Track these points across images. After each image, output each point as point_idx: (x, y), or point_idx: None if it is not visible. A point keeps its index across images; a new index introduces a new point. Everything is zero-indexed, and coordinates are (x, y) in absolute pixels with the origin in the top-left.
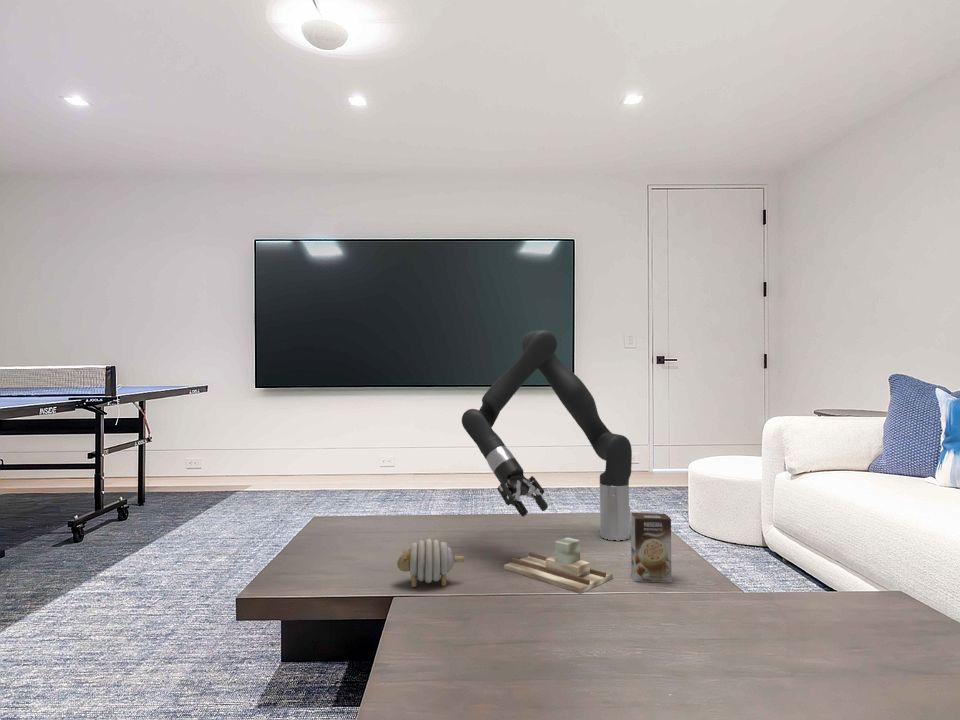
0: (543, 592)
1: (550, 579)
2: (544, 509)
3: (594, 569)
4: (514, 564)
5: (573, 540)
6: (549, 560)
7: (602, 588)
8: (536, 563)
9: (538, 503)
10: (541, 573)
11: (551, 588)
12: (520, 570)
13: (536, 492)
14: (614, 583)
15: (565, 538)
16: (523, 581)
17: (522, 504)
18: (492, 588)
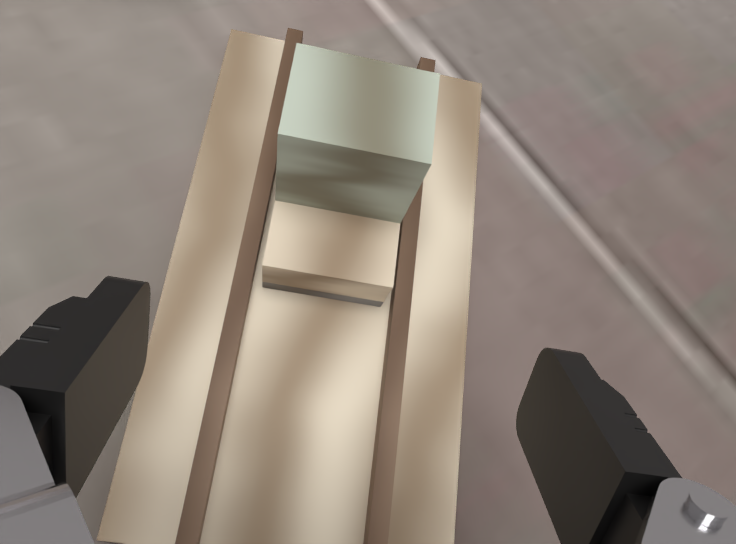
0: (565, 220)
1: (472, 231)
2: (145, 329)
3: (219, 111)
4: (407, 525)
5: (325, 74)
6: (395, 262)
7: (370, 48)
8: (309, 415)
9: (99, 434)
10: (436, 303)
11: (506, 212)
12: (458, 435)
13: (31, 463)
14: (286, 25)
15: (313, 134)
16: (522, 363)
17: (615, 420)
18: (691, 436)
